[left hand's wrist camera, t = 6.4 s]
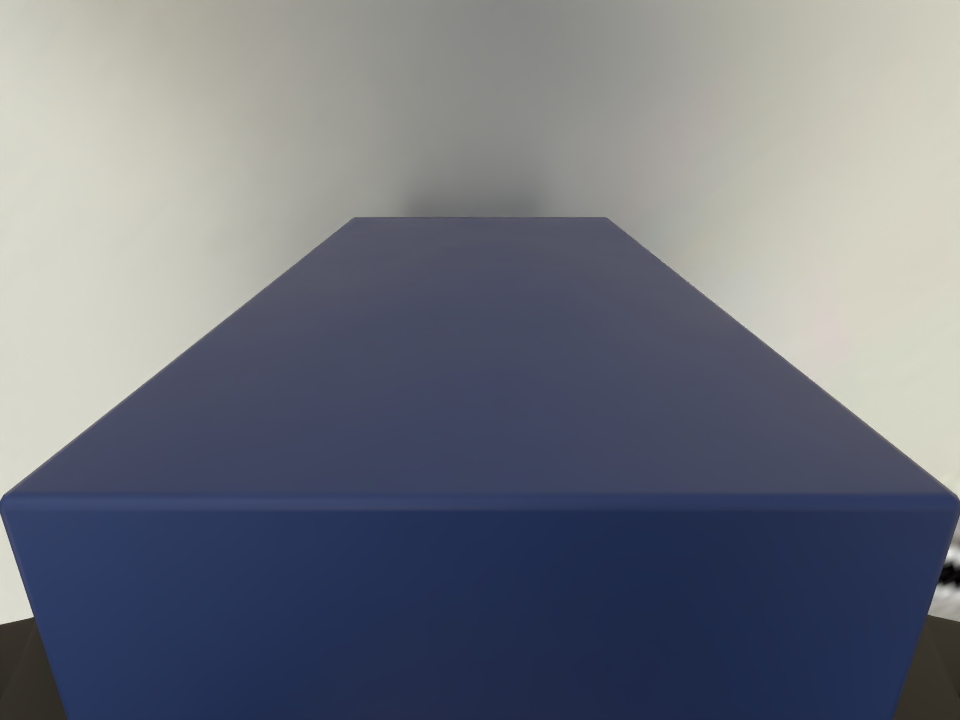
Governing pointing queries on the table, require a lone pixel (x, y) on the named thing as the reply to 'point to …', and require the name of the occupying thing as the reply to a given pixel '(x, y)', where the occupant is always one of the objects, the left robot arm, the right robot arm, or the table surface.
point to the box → (480, 504)
